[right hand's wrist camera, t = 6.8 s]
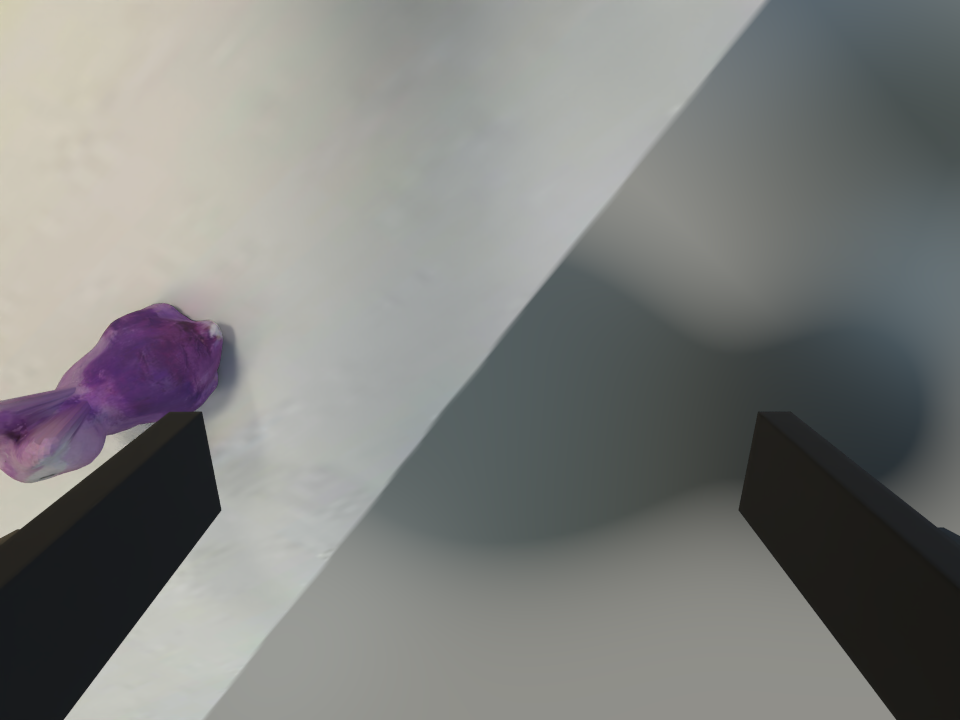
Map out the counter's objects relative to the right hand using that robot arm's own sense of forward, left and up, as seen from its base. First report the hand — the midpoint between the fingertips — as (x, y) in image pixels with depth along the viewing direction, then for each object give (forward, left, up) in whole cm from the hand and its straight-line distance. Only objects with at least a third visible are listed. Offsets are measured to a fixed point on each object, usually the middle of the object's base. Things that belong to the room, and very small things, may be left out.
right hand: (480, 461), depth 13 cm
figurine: (+8, -24, -28) cm, 38 cm away
